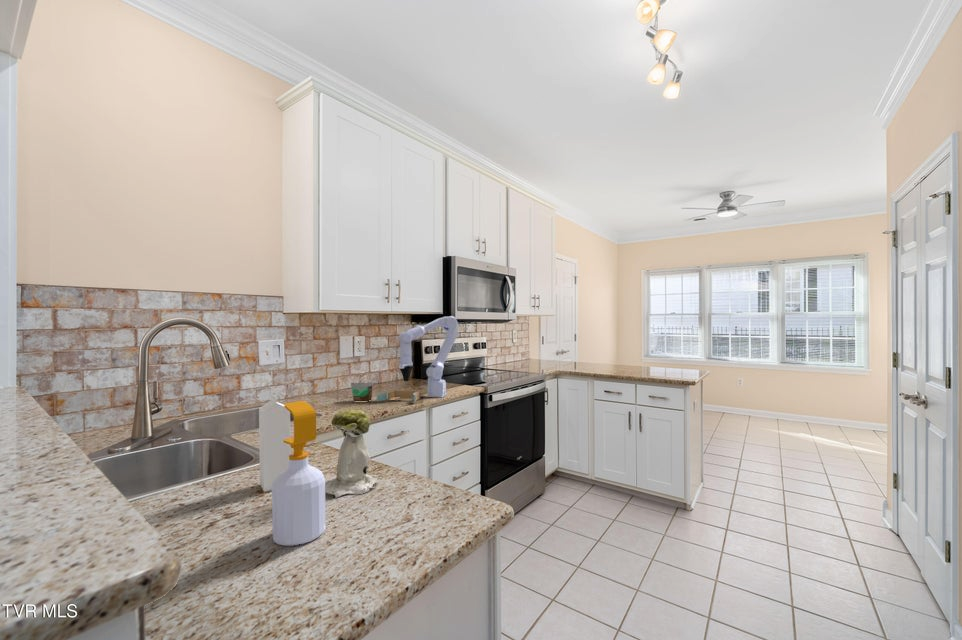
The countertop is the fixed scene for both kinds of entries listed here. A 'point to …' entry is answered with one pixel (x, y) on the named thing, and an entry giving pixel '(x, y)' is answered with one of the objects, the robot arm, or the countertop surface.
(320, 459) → the countertop surface
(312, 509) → the soap bottle
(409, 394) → the carton
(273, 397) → the white gable-top box
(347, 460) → the tree figurine
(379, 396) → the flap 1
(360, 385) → the food container
